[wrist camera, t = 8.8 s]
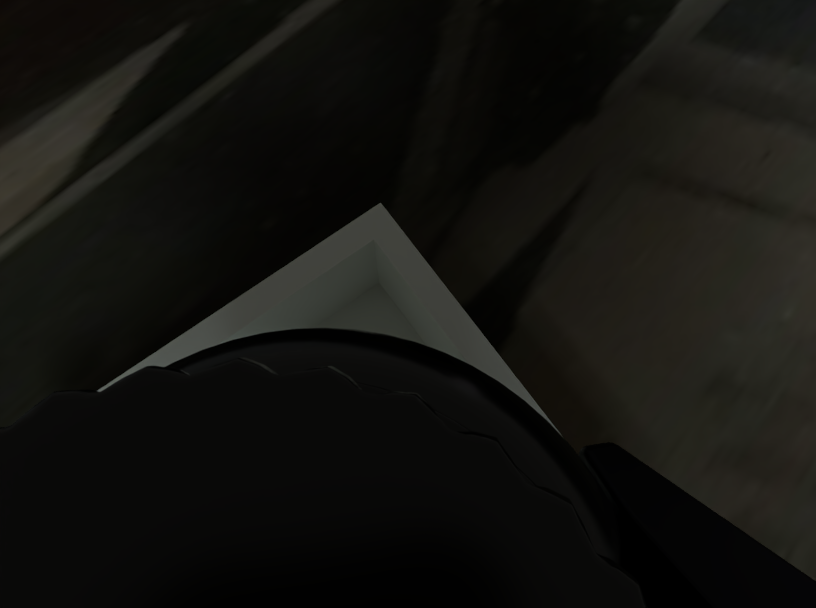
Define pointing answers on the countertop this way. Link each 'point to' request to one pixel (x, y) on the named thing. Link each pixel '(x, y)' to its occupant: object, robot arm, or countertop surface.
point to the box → (352, 301)
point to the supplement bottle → (305, 488)
